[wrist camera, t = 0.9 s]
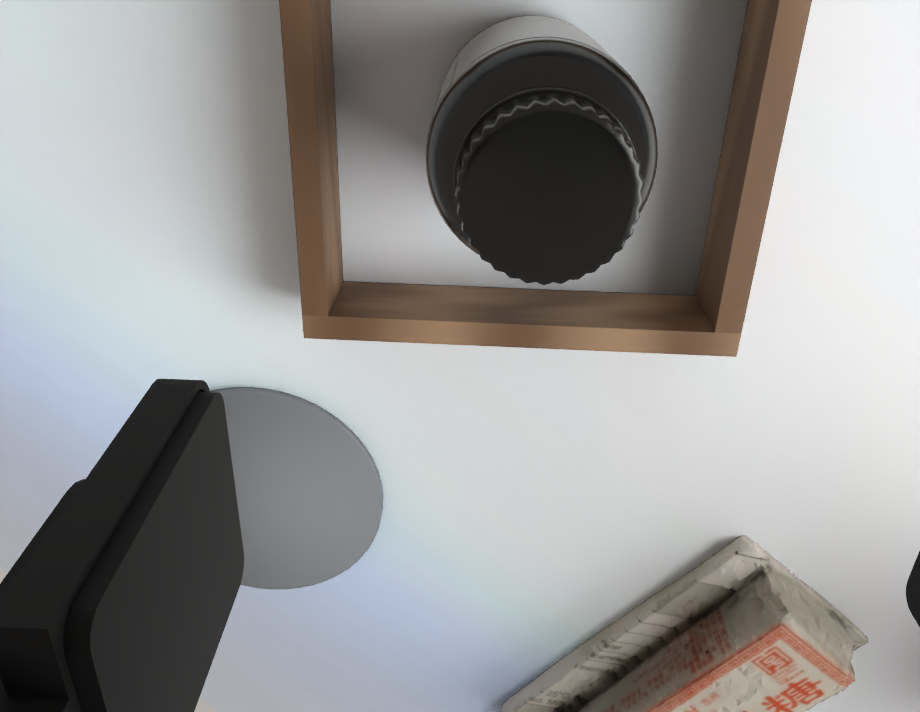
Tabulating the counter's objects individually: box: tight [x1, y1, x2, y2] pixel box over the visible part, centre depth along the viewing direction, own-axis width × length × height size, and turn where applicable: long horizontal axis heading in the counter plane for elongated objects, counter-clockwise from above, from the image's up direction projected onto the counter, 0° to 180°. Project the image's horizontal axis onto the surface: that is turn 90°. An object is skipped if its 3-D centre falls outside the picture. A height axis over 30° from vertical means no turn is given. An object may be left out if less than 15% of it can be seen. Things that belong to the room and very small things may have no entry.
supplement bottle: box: [426, 16, 658, 285], centre depth 26 cm, size 7×7×12 cm
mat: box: [212, 388, 383, 589], centre depth 40 cm, size 12×12×1 cm
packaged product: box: [501, 535, 868, 712], centre depth 43 cm, size 18×5×10 cm
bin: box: [279, 0, 812, 357], centre depth 29 cm, size 17×17×4 cm
